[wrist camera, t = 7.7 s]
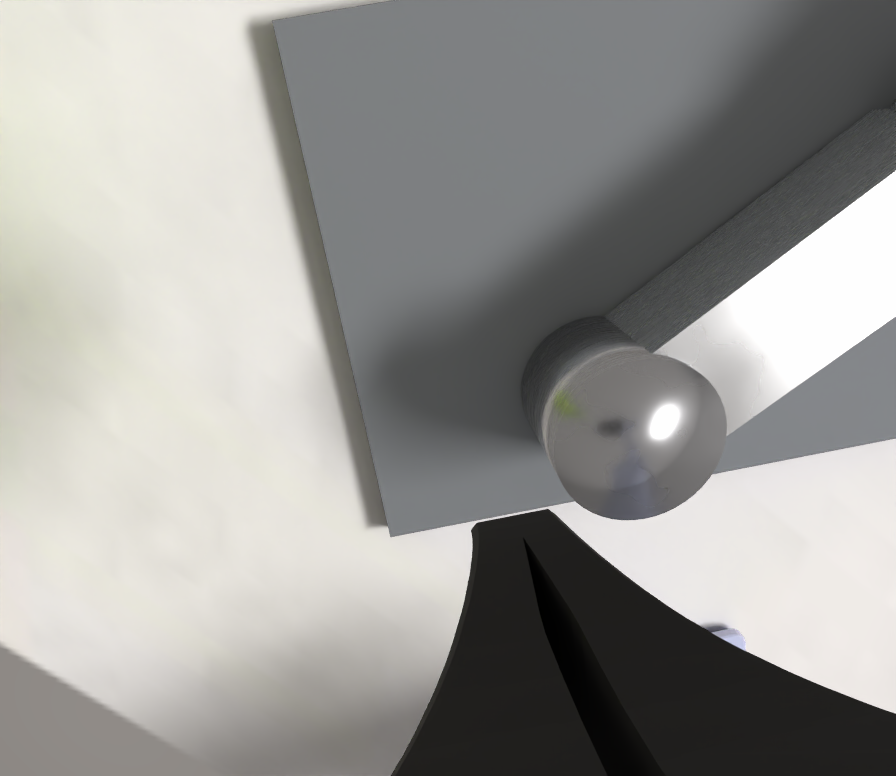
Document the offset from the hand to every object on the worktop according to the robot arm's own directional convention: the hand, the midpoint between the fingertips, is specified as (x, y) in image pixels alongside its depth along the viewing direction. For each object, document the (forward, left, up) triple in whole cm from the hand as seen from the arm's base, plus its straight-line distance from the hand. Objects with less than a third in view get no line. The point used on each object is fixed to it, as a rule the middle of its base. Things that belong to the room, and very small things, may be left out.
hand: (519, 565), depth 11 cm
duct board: (+2, -10, -10) cm, 14 cm away
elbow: (+1, -8, -9) cm, 12 cm away
